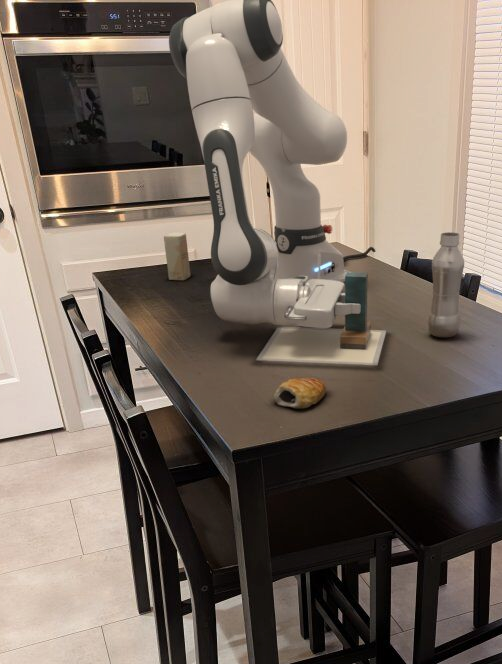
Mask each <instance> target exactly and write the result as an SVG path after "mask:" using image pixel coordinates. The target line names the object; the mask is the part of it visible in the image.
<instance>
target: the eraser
mask: <svg viewBox="0 0 502 664" xmlns="http://www.w3.org/2000/svg"><path fill="white" fill-rule="evenodd" d="M368 279H369V274H368V272H353V271H350V272H347V274H346V276H345V282H344V284H345V303H352V302H360V303H361V312H360V313H359V314H352V313H351V314H347V315H344V326H343V328H342V329H343V331H342V333H341V336H340V348H341V349H364V350H365V349H366V346H367V343H368V340H369V337H370V334H371V330H372V321H371V320H369V321H368V286H369V285H368V284H369V283H368Z"/></svg>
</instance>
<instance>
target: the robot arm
mask: <svg viewBox="0 0 502 664" xmlns="http://www.w3.org/2000/svg"><path fill="white" fill-rule="evenodd" d="M283 37H284V33H283V25H282V20H281V16H280V15H279V12H278V10H277V8H276V5H275V4H274V2H273V1H272V0H224V1H221V2H218V3H215V4H213V5H212V6H209V7H207V8H205V9H202V10H200V11H198V12H197V13H195V14H192V15H191V16H185V17H183V18H181V19H180V20H178V21H176V23H174V24H173V25H172V27H171V29H170V32H169V35H168V47H169V48H168V49H169V53H170V56H171V58H172V61H173V65H174V66H175V69H177V71H178V72H179V74H180V75H181V76H182V77H184V78H185V79H186V82H187V92H188V96H189V103H190V108H191V113H192V118H193V122H194V126H195V130H196V135H197V139H198V142H199V146H200V149H201V154H202V158H203V159H202V160H203V162H204V163H203V164H204V169H205V176H206V182H207V188H208V194H209V200H210V201H209V202H210V206H211V212H212V220H213V233H212V240H211V245H210V260H211V264H212V266H213V268H214V270H215V273H216V274H217V275H216V277H215V279H214V280H213V281H212V282H211V284H210V287H209V289H210V290H209V298H210V302H211V306H212V309H213V310H214V311H213V312H214V313H215V314H216V316H217V317H218V318H220V320H223V321H226V322H230V323H235V324H236V323H237V324H245V325H260V324H263V323H264V324H265V323H266V324H267V323H268V324H271V325H274V326H291V327H303V328H332V326H333V324H334V322H335V320H336V318H337V316H339V317H340V316H341V317H342V316H345V315H347V314H351V313H352V314H359V313H360V312H361V303H360V302H352V303H345V276H346V274H347V272H351V271H349V270H347V269H345V263H344V262H345V261H346V260H350V259H351V260H352V259H357V258H358V259H359V258H363V257H365V256H367V255H369V253H370V252H372V253H376V249H375V248H374V247H373V246H369V247H368V248H367V249H366V251H364V252H362V253H357V254H349V255H345V256H343V254H342V252H340V251H339V250H338V249H337V248H336V247H334V246H333V245H332V244H331V243H330V242H329V241H327V236H326V234H328V235H330V234H332V233H333V226H332V225H331V224H322V221H321V220H322V217H321V215H322V214H321V213H322V212H321V209H322V208H321V193H320V191H319V188H318V187H317V186H316V184H314V183H313V182H311V181H310V180H309V178H307V175H305V173H304V171H303V169H302V165H311V166H320V165H327V164H332V163H337V162H338V161H339V160H340V159H341V158H342V156H343V155H344V153H345V151H346V148H347V144H348V131H347V127H346V125H345V123H344V121H343V120H342V118H341V117H340V115H337V114H335V113H334V112H332V111H330V110H328V109H327V108H325V107H324V106H322V105H321V104H320V103H319V102H317V101H316V100H315V99H314V98H313V97H312V96H311V95H310V94H309V93H308V92H307V91H306V90H305V88H304V87H303V86H302V84H300V82H299V81H298V80H297V77H296V76H295V74H294V72H293V70H292V68H291V66H290V64H289V62H288V60H287V58H286V56H285V54H284V52H283V49H282V45H283V43H284V42H283V40H284V38H283ZM254 112H255V113H254ZM248 153H250V154H251V156H253V157H254V159H256V160H257V161H258V163H259V165H261V168H262V169H263V171H264V172H265V174H266V176H267V178H268V182H269V184H270V187H271V190H272V196H273V203H274V205H273V206H274V216H275V217H274V219H275V225H274V227H273V228H274V230H273V235H274V237H273V236H272V235H271V234H270V233H269V232H267V231H265V230H264V229H260V228H254V226H253V224H252V223H251V222H252V221H251V220H250V215H249V209H248V203H247V197H246V190H245V185H244V177H243V168H244V167H243V166H244V161H245V159H246V157H247V155H248Z"/></svg>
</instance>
